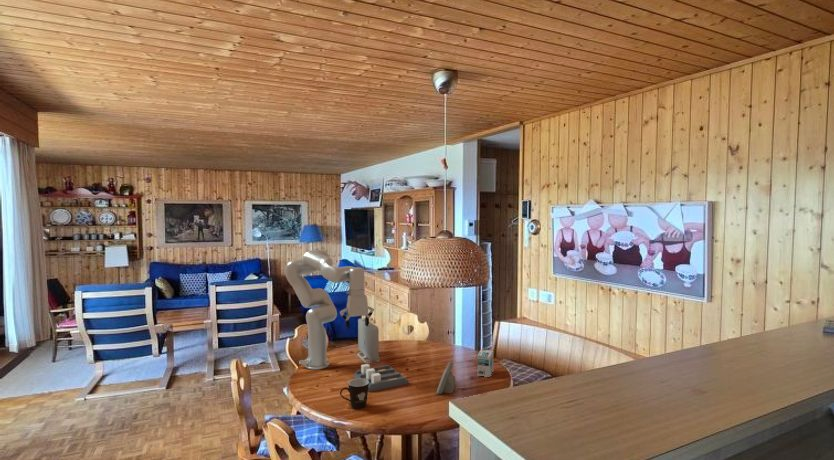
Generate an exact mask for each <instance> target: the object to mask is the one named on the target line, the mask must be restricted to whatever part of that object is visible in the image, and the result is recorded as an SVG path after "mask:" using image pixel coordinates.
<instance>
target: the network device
mask: <svg viewBox="0 0 834 460" xmlns="http://www.w3.org/2000/svg"><path fill="white" fill-rule="evenodd" d="M357 323H358V324H357V342H358V343H357V347H358V348H357V349H358V350H359V351H360V352H358V353H357V356H358V357H359V358H360V360H361V361H363V362H364V363H365V364H373V363H374V364H375V363H379V362H380V361H381V359H380V353H379V351H380V350H379V347H380V346H379V345H380V344H379V341H380V339H379V335H380V334H379V327H378V326H377V325H376V324H374V323H372V322H371V321H370V320H369V324H368V326H366V325H365V318H358V319H357ZM361 355H363V356H361ZM367 360H369V361H367Z"/></svg>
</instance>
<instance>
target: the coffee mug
mask: <svg viewBox="0 0 834 460" xmlns="http://www.w3.org/2000/svg"><path fill="white" fill-rule="evenodd" d="M368 387H369V381H368V380H366V379H355V378H354V379H351V380H349V381H348V387H344V388H341V389H340V391H339V396H340V397H341V398H343V399H344V400H346V401H349V402H350V407H351V408H352V409H353V410H362V409H365V408H366V407H367V403H368V394H369V392H368ZM344 390H347V391H348V392H349V398H347V397H344V395H343V394H342V392H343V391H344Z"/></svg>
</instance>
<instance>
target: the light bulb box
mask: <svg viewBox="0 0 834 460" xmlns="http://www.w3.org/2000/svg"><path fill="white" fill-rule="evenodd" d="M476 366H477V371H476V372H477V375H476V376H477V377H479V376H484V377H483V378H487V377H490V376H491V377H492V375H493V373H494V350H490V349H489V350H488V349H480V350H479V352H478V354H477V363H476ZM492 372H493V373H492ZM491 374H492V375H491ZM491 377H490V378H491Z"/></svg>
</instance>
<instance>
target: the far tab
mask: <svg viewBox="0 0 834 460" xmlns="http://www.w3.org/2000/svg"><path fill="white" fill-rule="evenodd" d="M370 368H371V365H370V363H365V364H361V365H360V370H361V373H362V374H366V369H370Z"/></svg>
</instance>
